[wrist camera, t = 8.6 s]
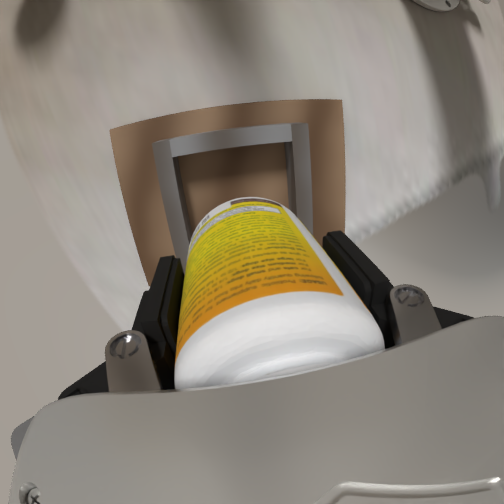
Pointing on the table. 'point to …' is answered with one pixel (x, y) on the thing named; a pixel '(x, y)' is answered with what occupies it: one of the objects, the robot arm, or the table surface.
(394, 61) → the table surface
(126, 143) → the collar board
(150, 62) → the table surface
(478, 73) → the table surface
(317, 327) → the supplement bottle
